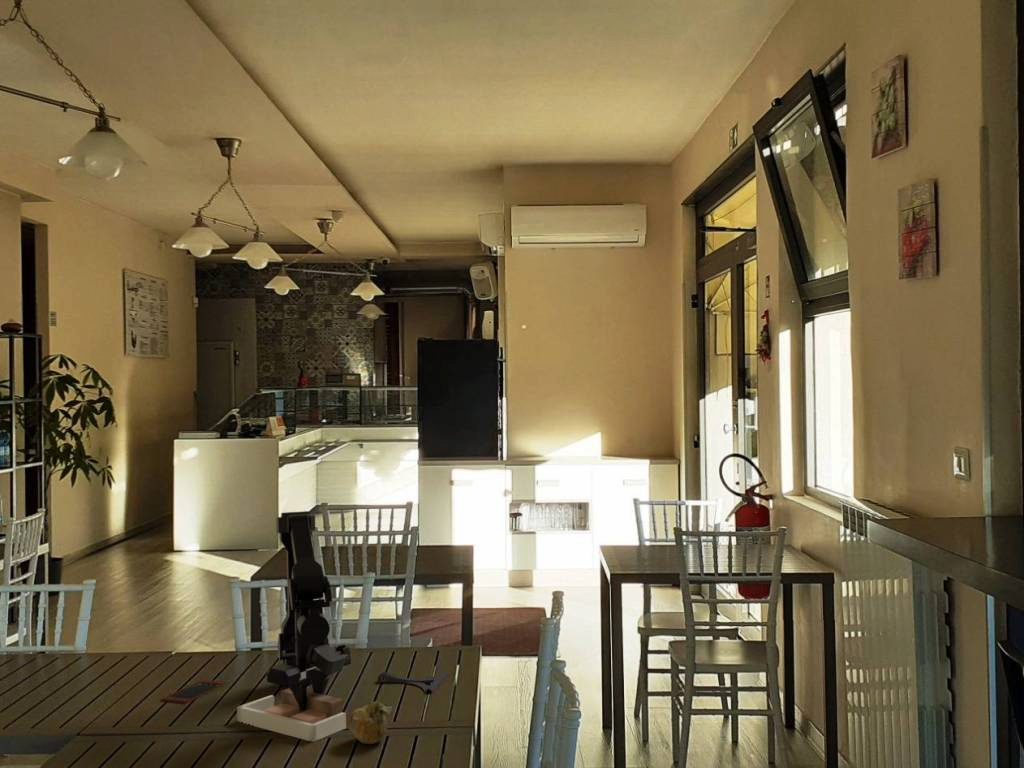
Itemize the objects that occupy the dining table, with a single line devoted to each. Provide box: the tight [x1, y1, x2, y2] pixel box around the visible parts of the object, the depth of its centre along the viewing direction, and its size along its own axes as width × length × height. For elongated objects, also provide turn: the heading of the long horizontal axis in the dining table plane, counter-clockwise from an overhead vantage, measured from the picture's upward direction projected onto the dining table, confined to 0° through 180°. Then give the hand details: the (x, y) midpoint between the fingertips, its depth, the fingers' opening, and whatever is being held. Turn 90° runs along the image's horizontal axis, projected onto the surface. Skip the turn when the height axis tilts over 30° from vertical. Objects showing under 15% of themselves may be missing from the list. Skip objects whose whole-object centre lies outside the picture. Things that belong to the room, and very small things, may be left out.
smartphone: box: [160, 679, 229, 704], centre depth 228 cm, size 7×1×15 cm
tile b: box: [291, 710, 327, 724], centre depth 204 cm, size 5×5×2 cm
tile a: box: [265, 703, 300, 718], centre depth 208 cm, size 5×5×2 cm
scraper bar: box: [280, 687, 343, 718], centre depth 209 cm, size 15×3×5 cm, turn 54°
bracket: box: [377, 669, 449, 694], centre depth 232 cm, size 14×15×3 cm
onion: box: [347, 701, 394, 745], centre depth 194 cm, size 8×8×8 cm
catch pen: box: [236, 694, 347, 743], centre depth 205 cm, size 22×9×3 cm, turn 55°
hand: (310, 707), depth 209 cm, fingers open, 4 cm apart
